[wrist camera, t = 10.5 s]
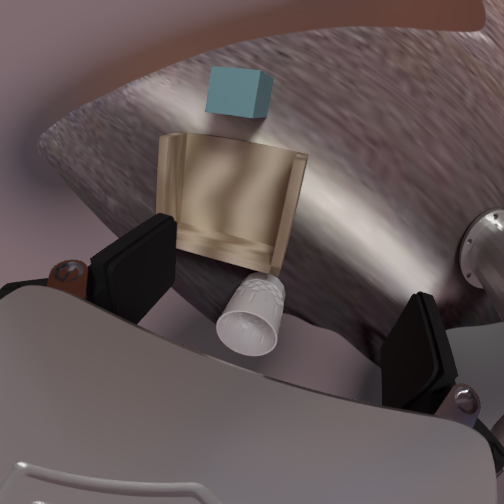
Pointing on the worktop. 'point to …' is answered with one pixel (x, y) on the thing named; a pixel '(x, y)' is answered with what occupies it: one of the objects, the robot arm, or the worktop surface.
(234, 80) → the teal block
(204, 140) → the birch box
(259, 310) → the white cup
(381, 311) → the worktop surface
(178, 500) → the robot arm
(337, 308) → the worktop surface
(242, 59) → the worktop surface
